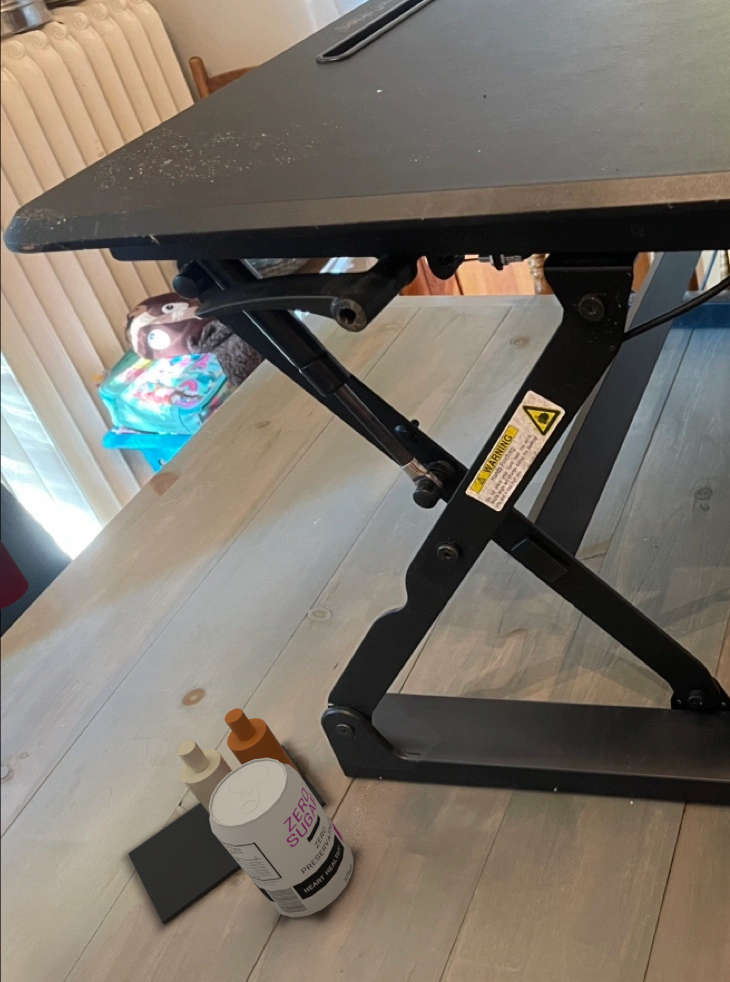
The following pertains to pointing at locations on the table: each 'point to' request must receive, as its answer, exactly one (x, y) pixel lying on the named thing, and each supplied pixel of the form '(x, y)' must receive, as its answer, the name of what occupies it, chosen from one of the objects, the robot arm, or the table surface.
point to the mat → (186, 860)
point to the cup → (10, 579)
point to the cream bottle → (202, 770)
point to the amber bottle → (253, 739)
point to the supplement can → (280, 836)
